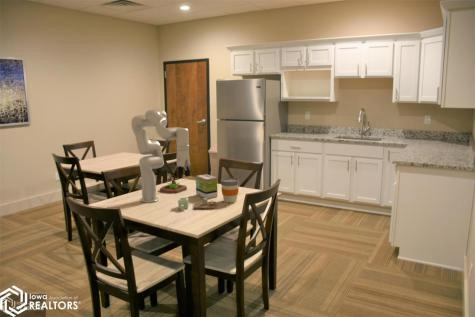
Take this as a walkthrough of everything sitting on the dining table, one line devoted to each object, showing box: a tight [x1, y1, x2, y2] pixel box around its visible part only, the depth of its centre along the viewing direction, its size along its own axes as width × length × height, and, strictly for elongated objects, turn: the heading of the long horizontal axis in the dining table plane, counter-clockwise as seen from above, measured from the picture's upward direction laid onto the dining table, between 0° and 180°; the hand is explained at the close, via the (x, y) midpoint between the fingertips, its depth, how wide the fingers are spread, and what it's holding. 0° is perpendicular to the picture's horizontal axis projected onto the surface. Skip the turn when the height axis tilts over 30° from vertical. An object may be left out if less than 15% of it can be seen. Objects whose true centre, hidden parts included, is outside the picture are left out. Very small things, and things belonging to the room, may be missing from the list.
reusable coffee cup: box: [220, 177, 240, 203], centre depth 263 cm, size 13×13×15 cm
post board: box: [193, 197, 217, 211], centre depth 251 cm, size 14×14×5 cm
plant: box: [159, 176, 188, 194], centre depth 295 cm, size 20×20×11 cm
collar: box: [177, 197, 190, 212], centre depth 246 cm, size 10×6×6 cm, turn 2°
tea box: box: [195, 173, 218, 200], centre depth 277 cm, size 15×10×15 cm, turn 37°
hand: (183, 175), depth 237 cm, fingers open, 9 cm apart
